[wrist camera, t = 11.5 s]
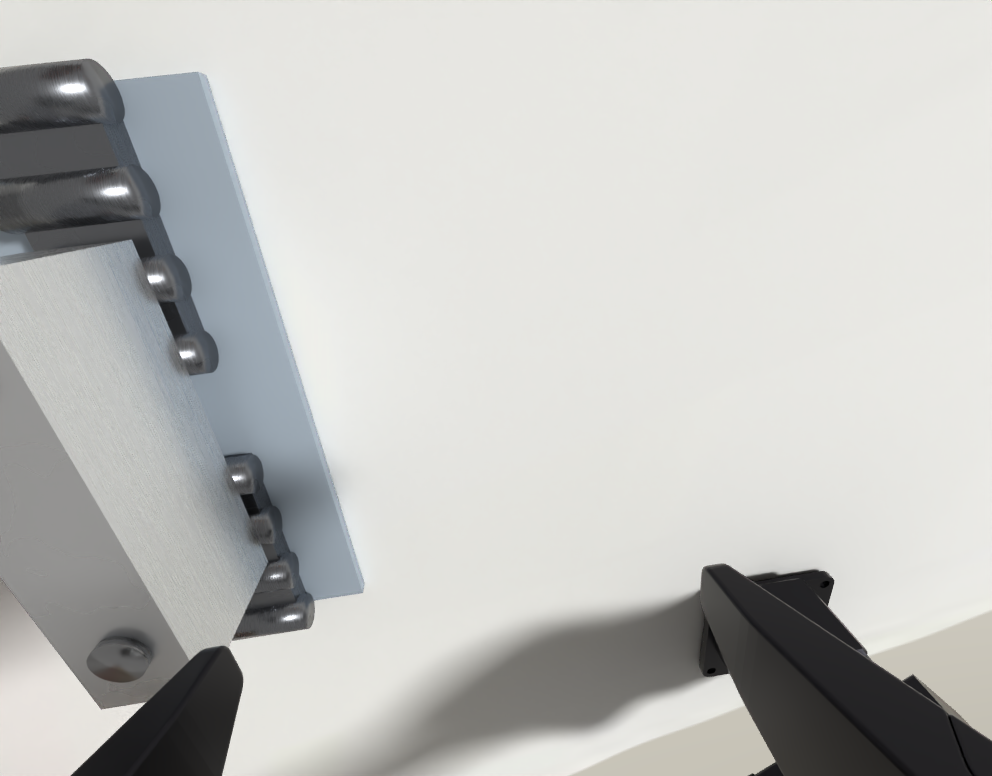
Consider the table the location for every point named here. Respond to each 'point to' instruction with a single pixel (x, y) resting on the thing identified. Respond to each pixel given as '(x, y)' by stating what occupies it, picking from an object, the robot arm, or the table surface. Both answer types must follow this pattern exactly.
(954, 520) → the table surface
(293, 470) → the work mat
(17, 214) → the chain end
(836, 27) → the table surface
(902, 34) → the table surface
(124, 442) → the link
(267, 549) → the chain end
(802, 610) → the robot arm
